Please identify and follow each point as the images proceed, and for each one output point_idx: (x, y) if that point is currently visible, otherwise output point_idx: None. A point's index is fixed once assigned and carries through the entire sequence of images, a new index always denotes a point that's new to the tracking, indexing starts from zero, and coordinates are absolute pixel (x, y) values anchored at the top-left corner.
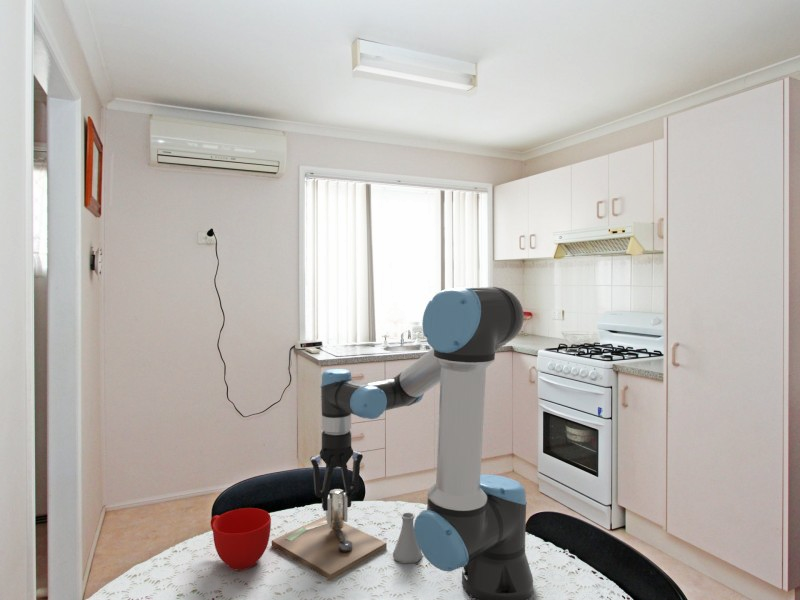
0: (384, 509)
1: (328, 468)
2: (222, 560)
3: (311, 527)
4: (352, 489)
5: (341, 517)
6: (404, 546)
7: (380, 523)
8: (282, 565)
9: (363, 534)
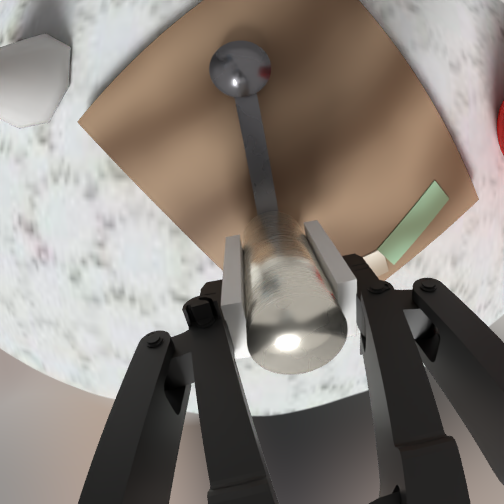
0: (115, 367)
1: (457, 472)
2: None
3: None
4: (181, 350)
5: (255, 237)
6: (17, 44)
7: (114, 294)
8: (444, 74)
9: (161, 190)
